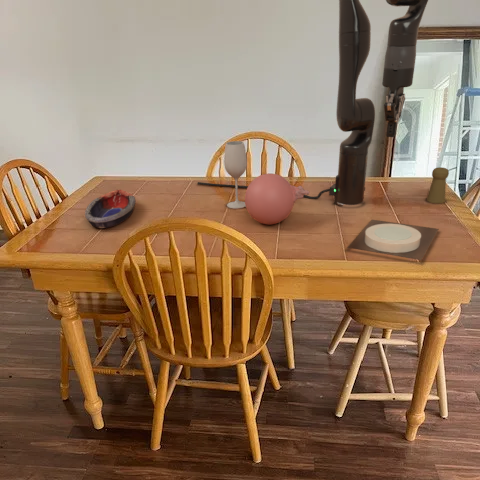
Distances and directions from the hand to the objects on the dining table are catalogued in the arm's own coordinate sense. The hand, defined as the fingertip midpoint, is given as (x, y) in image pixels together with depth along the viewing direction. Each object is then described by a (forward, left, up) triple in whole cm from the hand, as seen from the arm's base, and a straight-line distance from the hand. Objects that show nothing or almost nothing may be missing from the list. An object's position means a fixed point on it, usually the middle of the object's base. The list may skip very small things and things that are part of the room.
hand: (390, 136), depth 136 cm
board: (+6, -7, -27) cm, 29 cm away
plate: (+6, -10, -26) cm, 29 cm away
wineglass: (-51, +3, -27) cm, 58 cm away
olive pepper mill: (+10, +34, -27) cm, 45 cm away
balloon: (-31, -7, -27) cm, 42 cm away
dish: (-85, -23, -27) cm, 92 cm away
